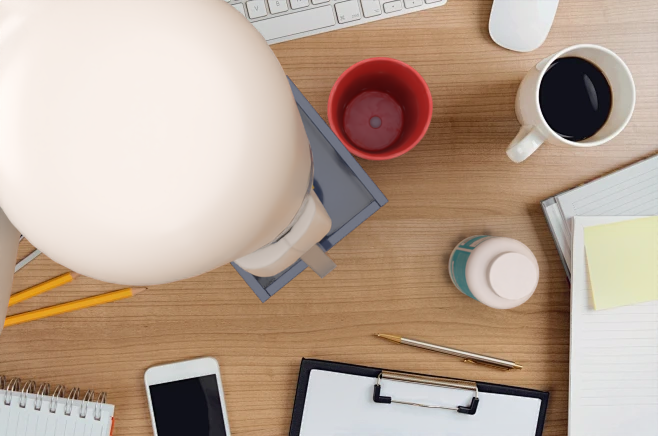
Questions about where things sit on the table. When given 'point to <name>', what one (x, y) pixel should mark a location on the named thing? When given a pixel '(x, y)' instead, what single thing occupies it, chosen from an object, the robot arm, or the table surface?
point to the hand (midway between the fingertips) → (269, 187)
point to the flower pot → (380, 108)
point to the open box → (326, 194)
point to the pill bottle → (494, 270)
